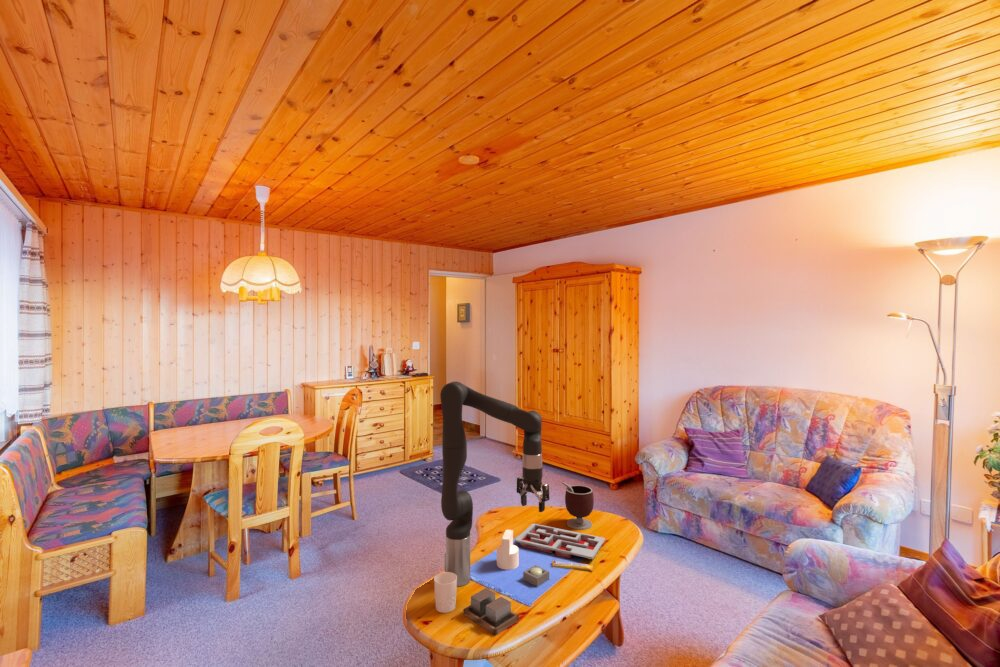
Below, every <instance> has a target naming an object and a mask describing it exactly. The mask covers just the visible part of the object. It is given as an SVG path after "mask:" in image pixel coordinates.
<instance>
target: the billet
mask: <svg viewBox="0 0 1000 667" xmlns="http://www.w3.org/2000/svg"><path fill="white" fill-rule="evenodd" d="M511 606H512V602H511V601H510V600H508V599H506V598H504V597H502V596H499V597H498V598H495V600H494V601H493V602H491V603H489V604H487V605H486V622H487V623H489V624H490V625H492V626H493V627H495V628H496V627H498V626H500V625H501V624H503V623H504V622H506V621H507V620H509V619H510V618H511V611H512V607H511Z"/></svg>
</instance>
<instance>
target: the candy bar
mask: <svg viewBox="0 0 1000 667" xmlns="http://www.w3.org/2000/svg"><path fill="white" fill-rule="evenodd" d="M551 564H552V568H560V569H569V570H576V571H585V572H590V571H594V565H591V564H586V563H578V562H568V561H558V560H557V561H556V560H555V559H554V560H552V561H551Z"/></svg>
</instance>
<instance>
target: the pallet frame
mask: <svg viewBox="0 0 1000 667" xmlns="http://www.w3.org/2000/svg"><path fill="white" fill-rule="evenodd" d="M462 612H463V613H462V614H463V616H465V617H467V618H469V619H470V620H471V621H473V622H475V623H476V624H477V625H479V626H481V627H482V628H484V629H485V630H486V631H488V632H489V633H491V634H492V635H494V636H497V635H499V634H500V633H502V632H503V631H505V630H507V629H508V628H509V627H511V626H512V625H514V624H515V623H517V622H518V621H519V620H520V617H519V616H520V614H517V613H515V612H514V611H513V610H511V618H510V619H509V620H507V621H506V622H504V623H503V624H501V625H500V626H498V627H496V628H495V627H493V626H492V625H490V624H489V623H487V622H486V614H485V615H484V616H482V617H480V618H479V617H478V616H476V615H475V614H473V613H472V612H471V604H470V605H468V606H466V607H464V608H463V610H462Z"/></svg>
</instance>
